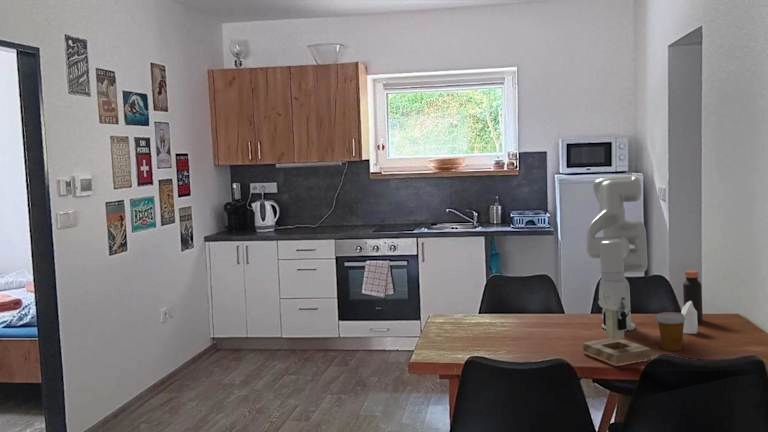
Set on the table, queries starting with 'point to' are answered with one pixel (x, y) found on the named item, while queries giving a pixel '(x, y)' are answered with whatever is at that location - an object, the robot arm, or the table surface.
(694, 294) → the bottle
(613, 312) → the skincare box
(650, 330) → the table surface
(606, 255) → the robot arm
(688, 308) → the white house shaped block
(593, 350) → the socket block
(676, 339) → the disposable coffee cup
